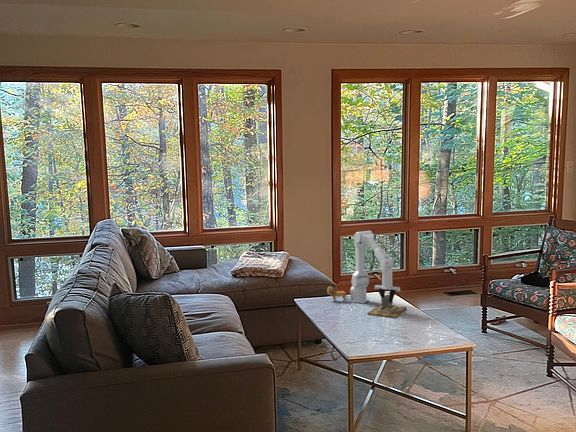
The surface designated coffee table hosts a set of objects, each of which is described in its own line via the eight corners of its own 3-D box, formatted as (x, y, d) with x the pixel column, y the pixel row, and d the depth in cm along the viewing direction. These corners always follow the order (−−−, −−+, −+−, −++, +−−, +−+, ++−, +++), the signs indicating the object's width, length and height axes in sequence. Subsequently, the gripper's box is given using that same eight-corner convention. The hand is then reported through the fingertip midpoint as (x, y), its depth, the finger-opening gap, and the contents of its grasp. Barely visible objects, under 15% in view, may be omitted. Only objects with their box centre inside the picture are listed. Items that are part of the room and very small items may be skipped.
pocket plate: (367, 314, 320) (367, 310, 320) (380, 305, 338) (380, 301, 337) (395, 318, 312) (395, 313, 312) (406, 308, 330) (406, 304, 330)
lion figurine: (326, 301, 349) (325, 287, 347) (328, 299, 354) (328, 285, 352) (349, 303, 344) (349, 288, 343) (351, 301, 349) (351, 286, 348)
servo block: (381, 306, 321) (381, 297, 321) (386, 302, 329) (386, 293, 329) (387, 307, 319) (387, 297, 319) (393, 303, 327) (393, 294, 327)
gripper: (372, 279, 323) (372, 302, 324) (397, 281, 316) (397, 305, 317) (376, 276, 329) (377, 299, 330) (401, 279, 322) (401, 302, 323)
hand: (387, 302), depth 324 cm, fingers closed on servo block, 4 cm apart
